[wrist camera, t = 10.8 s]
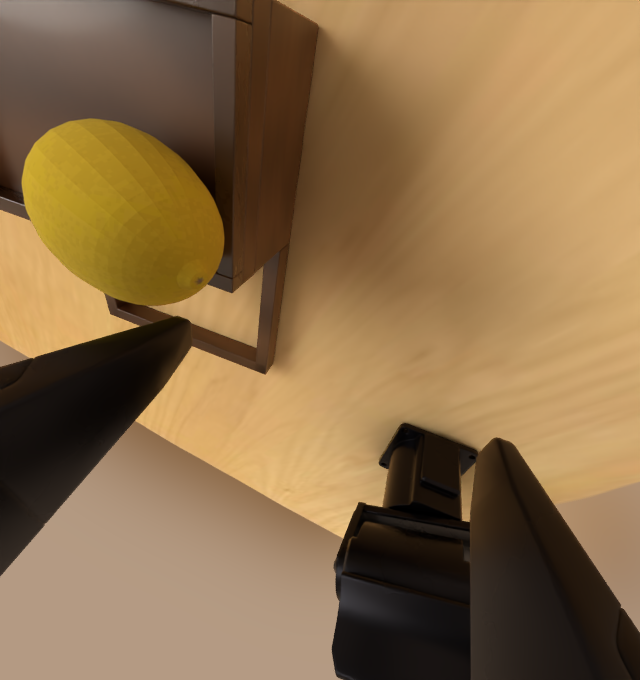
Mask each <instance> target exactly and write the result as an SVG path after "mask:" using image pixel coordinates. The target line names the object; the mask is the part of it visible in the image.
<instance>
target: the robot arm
mask: <svg viewBox="0 0 640 680" xmlns="http://www.w3.org/2000/svg"><path fill="white" fill-rule="evenodd" d="M192 343H193V338H192V327H191V322H190V321H189V320H187V319H184V318H182V317H179V316H175V317H171V318H167V319H164V320H161V321H157V322H154V323H150V324H147V325H143V326H140V327H137V328H133V329H130V330H126V331H123V332H119V333H116V334H113V335H109V336H106V337H102V338H99V339H95V340H92V341H89V342H85V343H82V344H78V345H75V346H71V347H68V348H64V349H61V350H58V351H54V352H51V353H47V354H44V355H40V356H37V357H35V358H30V359H27V360H23V361H20V362H16V363H13V364H9V365H6V366H2V367H0V576H1V575H2V574H3V573H4V572H5V570H6V569H7V568H8V567H9V566H10V565H11V563H12V562H13V561H14V560H15V559H16V558H17V557H18V555H19V554H20V553H21V552H22V551H23V549H24V548H25V547H26V546H27V545H28V544H29V543H30V542H31V540H32V539H33V538H34V537H35V536H36V535H37V533H38V532H39V531H40V530H41V529H42V528H43V527H44V525H45V523H47V522H48V520H49V519H50V518H51V517H52V516H53V515H54V513H55V512H56V511H57V510H58V509H59V508H60V506H61V505H62V504H63V503H64V502H65V501H66V500H67V498H68V497H69V496H70V495H71V494H72V493H73V491H74V490H75V489H76V488H77V487H78V486H79V485H80V483H81V482H82V481H83V480H84V479H85V478H86V476H87V475H88V474H89V473H90V472H91V471H92V469H93V468H94V467H95V466H96V465H97V464H98V463H99V461H100V460H101V459H102V458H103V457H104V456H105V455H106V453H107V452H108V451H109V450H110V449H111V448H112V446H113V445H114V444H115V443H116V442H117V441H118V440H119V438H120V437H121V436H122V435H123V434H124V433H125V431H126V430H127V429H128V428H129V427H130V426H131V425H132V423H133V422H134V421H135V420H136V419H137V418H138V416H139V415H140V414H141V413H142V412H143V411H144V410H145V408H146V407H147V406H148V405H149V404H150V403H151V401H152V400H153V399H154V398H155V397H156V396H157V394H158V393H159V392H160V391H161V390H162V388H163V387H164V386H165V384H166V383H167V382H168V380H169V379H170V377H171V376H172V375H173V373H174V372H175V370H176V369H177V367H178V366H179V364H180V363H181V361H182V360H183V359H184V357H185V356H186V354H187V353H188V351H189V350H190V348H191V346H192ZM406 429H407V430H406ZM475 462H476V466H475V475H474V484H473V492H472V501H471V512H470V522H466V521H462V499H461V476H462V475H463V474H464V473H465V472H466V471H467V470H468V469H469V468H470V467H471V466H472V465H473V464H474V463H475ZM379 465H380V466H382V467H384V468H386V469H389V470H388V476H387V482H386V488H385V494H384V500H383V506H382V507H378V506H372V505H367V504H366V503H362V502H359V503H358V505H357V508H356V510H355V511H354V513H353V515H352V518H351V521H350V523H349V526H348V528H347V531H346V533H345V536H344V539H343V541H342V544H341V546H340V549H339V552H338V554H337V558H336V560H335V562H334V570H335V573H336V594H337V598H338V600H339V601H340V602H339V610H338V616H337V622H336V628H335V633H334V639H333V644H332V655H333V661H334V667H335V673H336V676H337V677H338V678H340V679H343V680H640V632H639V631H638V629H637V628H636V627H635V625H634V624H633V622H632V621H631V619H630V618H629V616H628V615H627V613H626V612H625V610H624V609H622V608H621V605H620V603H619V601H618V600H617V598H616V597H615V595H614V594H613V592H612V591H611V590H610V588H609V586H608V585H607V584H606V582H605V580H604V579H603V577H602V576H601V574H600V573H599V571H598V570H597V568H596V567H595V565H594V564H593V562H592V561H591V559H590V558H589V556H588V555H587V553H586V552H585V550H584V549H583V547H582V546H581V544H580V543H579V541H578V540H577V538H576V537H575V535H574V534H573V532H572V531H571V529H570V528H569V526H568V525H567V523H566V522H565V520H564V519H563V517H562V516H561V514H560V513H559V511H558V510H557V508H556V507H555V505H554V504H553V502H552V501H551V499H550V498H549V496H548V495H547V493H546V492H545V490H544V489H543V487H542V486H541V484H540V483H539V481H538V480H537V478H536V477H535V475H534V474H533V472H532V471H531V469H530V468H529V466H528V465H527V463H526V462H525V460H524V459H523V457H522V456H521V454H520V453H519V451H518V450H517V448H516V447H515V446H514V444H512V443H511V442H509V441H506V440H503V439H501V438H497V437H496V438H494V439H492V440H491V441H490V442H489V443H488V444H487V445H486V446H485V447H484V448H483V449H482V450H481V451H480V452H479V454H478V452H477V451H476V450H474V449H471V448H469V447H466V446H464V445H461V444H459V443H456V442H453V441H451V440H448V439H446V438H443V437H440V436H438V435H435V434H433V433H430V432H428V431H425V430H422V429H420V428H417V427H415V426H412V425H410V424H406V423H403V424H401V425H400V426H399V428H398V429H397V431H396V433H395V434H394V436H393V437H392V439H391V441H390V442H389V444H388V446H387V447H386V449H385V451H384V452H383V454H382V455H381V457H380V459H379Z"/></svg>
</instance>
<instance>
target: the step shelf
mask: <svg viewBox="0 0 640 680" xmlns="http://www.w3.org/2000/svg"><path fill="white" fill-rule="evenodd" d="M317 33H318V24H317V23H315V22H313V21H312V20H310V19H308V18H306V17H305V16H303V15H301V14H299V13H298V12H296V11H294V10H292V9H291V8H289V7H287V6H286V5H284V4H282V3H280V2H279V1H277V0H0V210H3V211H5V212H8V213H11V214H14V215H17V216H19V217H22V218H25V219H28V220H30V221H31V219H30V217H29V215H28V213H27V211H26V207H25V203H24V196H23V190H22V176H23V170H24V165H25V160H26V158H27V156H28V154H29V153H30V151H31V149H32V147H33V145H34V144H35V142H36V141H38V140H39V139H40V138H41V137H42V136H43V135H45V134H46V133H47V132H48V131H49V130H50V129H53V128H55V127H57V126H59V125H62V124H64V123H66V122H69V121H75V120H82V119H102V120H109V121H116V122H120V123H123V124H126V125H128V126H131V127H133V128H135V129H138V130H140V131H143V132H145V133H147V134H149V135H151V136H153V137H154V138H156V139H157V140H159V141H160V142H162V143H163V144H164V145H166V146H167V147H168V148H170V149H171V150H172V151H174V152H175V153H176V154H178V155H179V156H180V157H181V158H182V159H183V160H184V161H185V162H186V163H187V164H188V165H189V166H190V167H191V168H192V170H193V171H194V172H195V174H196V175H197V176H198V177H199V179H200V180H201V181H202V183H203V184H204V185H205V186H206V188H207V189H208V191H209V192H210V194H211V196H212V197H213V199H214V201H215V204H216V206H217V209H218V211H219V214H220V216H221V219H222V223H223V229H224V249H223V255H222V259H221V261H220V264H219V267H218V269H217V271H216V273H215V274H214V276H213V278H212V279H211V280H210V281H209V282H208V283H207V284H208V285H211V286H213V287H216V288H219V289H222V290H224V291H227V292H230V293H233V292H234V291H235V290H236V289H238V288H239V287H240V286H241V285H242V284H243V283H244V282H246V281H247V280H248V279H249V278H250V277H251V276H252V275H253V274H254V273H255V272H256V271H257V270H259V269H260V268H261V267H262V266H263V265H264V269H263V281H262V293H261V305H260V317H259V329H258V341H257V349H256V348H253V347H251V346H248V345H246V344H243V343H240V342H238V341H235V340H232V339H230V338H227V337H225V336H222V335H219V334H217V333H214V332H211V331H209V330H206V329H204V328H201V327H198V326H196V325H193V324H191V327H192V338H193V343H192V346H193V347H196V348H198V349H201V350H204V351H206V352H209V353H211V354H214V355H216V356H219V357H221V358H224V359H227V360H229V361H232V362H234V363H237V364H239V365H242V366H245V367H247V368H250V369H252V370H255V371H257V372H260V373H262V374H265V375H266V373H267V372H268V370H269V369H270V367H271V366H272V364H273V361H274V353H275V346H276V338H277V331H278V323H279V316H280V309H281V301H282V294H283V286H284V279H285V271H286V264H287V257H288V249H289V241H290V234H291V226H292V219H293V211H294V204H295V197H296V189H297V182H298V174H299V167H300V159H301V152H302V145H303V137H304V130H305V122H306V115H307V107H308V100H309V93H310V85H311V78H312V70H313V63H314V55H315V48H316V41H317ZM104 294H105V293H104ZM105 297H106V300H107V304H108V308H109V311H110V314H111V315H114V316H116V317H119V318H122V319H124V320H127V321H129V322H132V323H134V324H137V325H139V326H143V325H147V324H150V323H154V322H157V321H161V320H164V319H167V318H171V317H172V316H169V315H167V314H164V313H161V312H159V311H156V310H154V309H151V308H148V307H146V306H143V305H138V304H133V303H129V302H125V301H122V300H119V299H116V298H113V297H111V296H109V295H107V294H105Z"/></svg>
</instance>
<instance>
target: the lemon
mask: <svg viewBox="0 0 640 680" xmlns="http://www.w3.org/2000/svg"><path fill="white" fill-rule="evenodd" d="M22 190H23V196H24V203H25V207H26V211H27V213H28V215H29V217H30V219H31V221H32V223H33V225H34V227H35V229H36V231H37V233H38V235H39V237H40V238H41V240H42V241H43V243H44V244H45V245H46V246H47V248H48V249H49V250H50V251H51V252H52V253H53V254H54V255H55V256H56V257H57V258H58V259H59V261H60V262H61V263H62V264H63V265H64V266H65V267H66V268H67V269H68V270H70V271H71V272H72V273H73V274H75V275H76V276H77V277H79V278H80V279H82V280H83V281H85V282H87V283H88V284H90V285H92V286H93V287H95V288H97V289H98V290H100V291H102V292H103V293H105V294H107V295H109V296H111V297H113V298H116V299H119V300H122V301H125V302H129V303H133V304H138V305H151V306H158V305H166V304H171V303H176V302H179V301H182V300H184V299H187V298H189V297H191V296H192V295H194V294H196V293H197V292H199V291H200V290H201V289H202V288H203V287H205V286H206V285H207V283H208V282H209V281H210V280H211V279H212V278H213V276H214V274H215V273H216V271H217V269H218V267H219V264H220V261H221V259H222V255H223V249H224V229H223V223H222V219H221V216H220V214H219V211H218V209H217V206H216V204H215V201H214V199H213V197H212V196H211V194H210V192H209V191H208V189H207V188H206V186H205V185H204V184H203V183H202V181H201V180H200V179H199V177H198V176H197V175H196V174H195V172H194V171H193V170H192V168H191V167H190V166H189V165H188V164H187V163H186V162H185V161H184V160H183V159H182V158H181V157H180V156H179V155H178V154H176V153H175V152H174V151H172V150H171V149H170V148H168V147H167V146H166V145H164V144H163V143H162V142H160V141H159V140H157V139H156V138H154V137H153V136H151V135H149V134H147V133H145V132H143V131H140V130H138V129H135V128H133V127H131V126H128V125H126V124H123V123H120V122H116V121H109V120H102V119H82V120H75V121H69V122H66V123H64V124H62V125H59V126H57V127H55V128H53V129H50V130H49V131H48V132H47V133H46V134H45V135H43V136H42V137H41V138H40V139H39V140H38V141H36V142H35V144H34V145H33V147H32V149H31V151H30V153H29V154H28V156H27V158H26V160H25V165H24V170H23V176H22Z"/></svg>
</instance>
